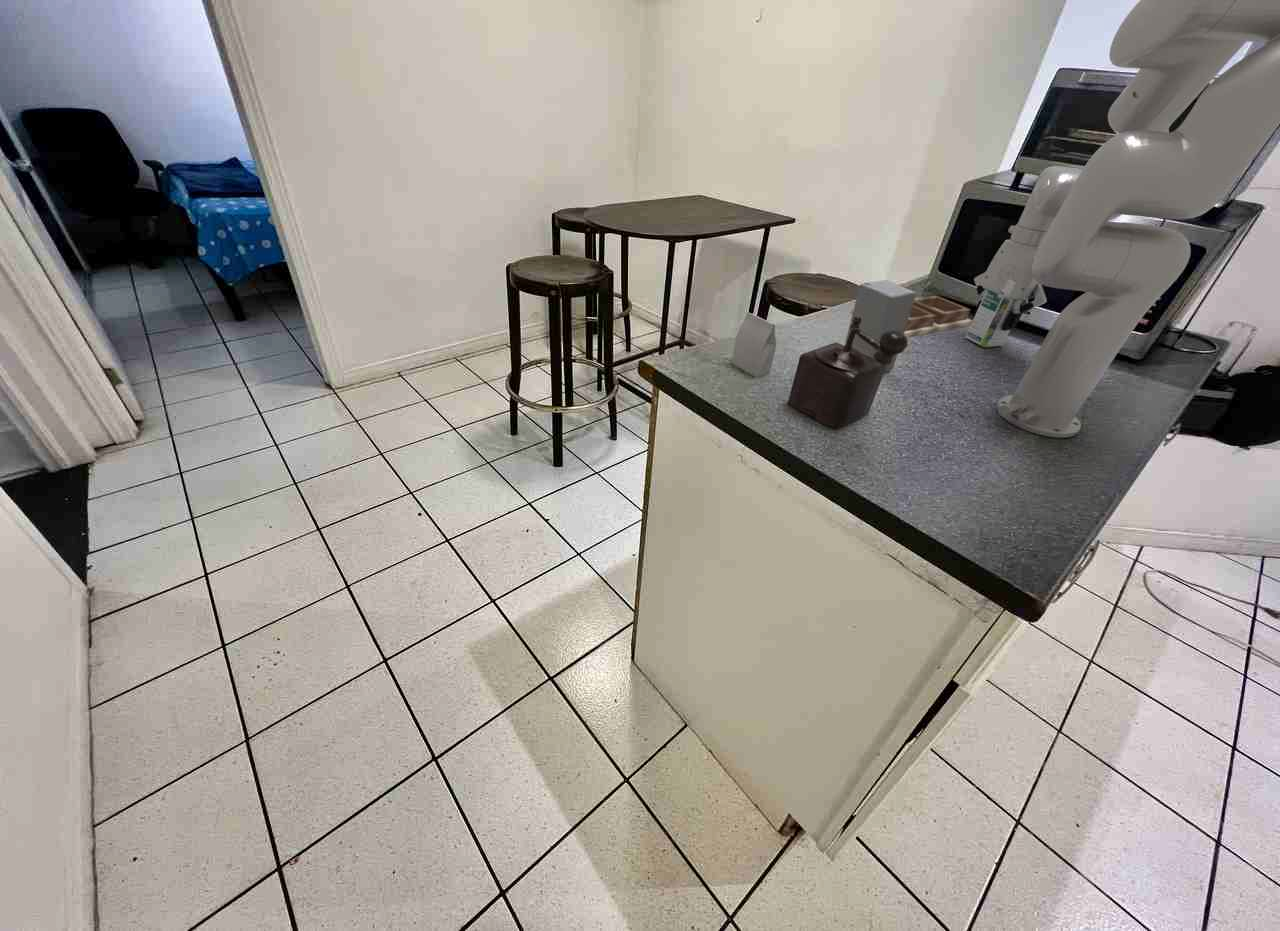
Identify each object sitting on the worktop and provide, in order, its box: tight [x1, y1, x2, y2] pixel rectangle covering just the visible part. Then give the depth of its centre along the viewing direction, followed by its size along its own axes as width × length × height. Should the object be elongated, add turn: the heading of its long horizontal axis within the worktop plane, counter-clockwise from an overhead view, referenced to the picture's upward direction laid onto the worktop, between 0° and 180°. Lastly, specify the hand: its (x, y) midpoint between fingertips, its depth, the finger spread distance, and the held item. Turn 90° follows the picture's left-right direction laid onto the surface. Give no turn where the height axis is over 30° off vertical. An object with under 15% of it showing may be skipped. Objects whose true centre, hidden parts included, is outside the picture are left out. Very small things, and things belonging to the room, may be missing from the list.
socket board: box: [850, 295, 973, 338], centre depth 127 cm, size 24×16×4 cm, turn 117°
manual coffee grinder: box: [786, 316, 909, 430], centre depth 84 cm, size 16×11×18 cm
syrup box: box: [964, 280, 1017, 348], centre depth 114 cm, size 6×6×14 cm
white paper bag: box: [731, 311, 777, 378], centre depth 98 cm, size 4×7×10 cm, turn 35°
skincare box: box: [844, 279, 918, 373], centre depth 101 cm, size 8×7×16 cm
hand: (992, 323), depth 115 cm, fingers closed on syrup box, 6 cm apart
